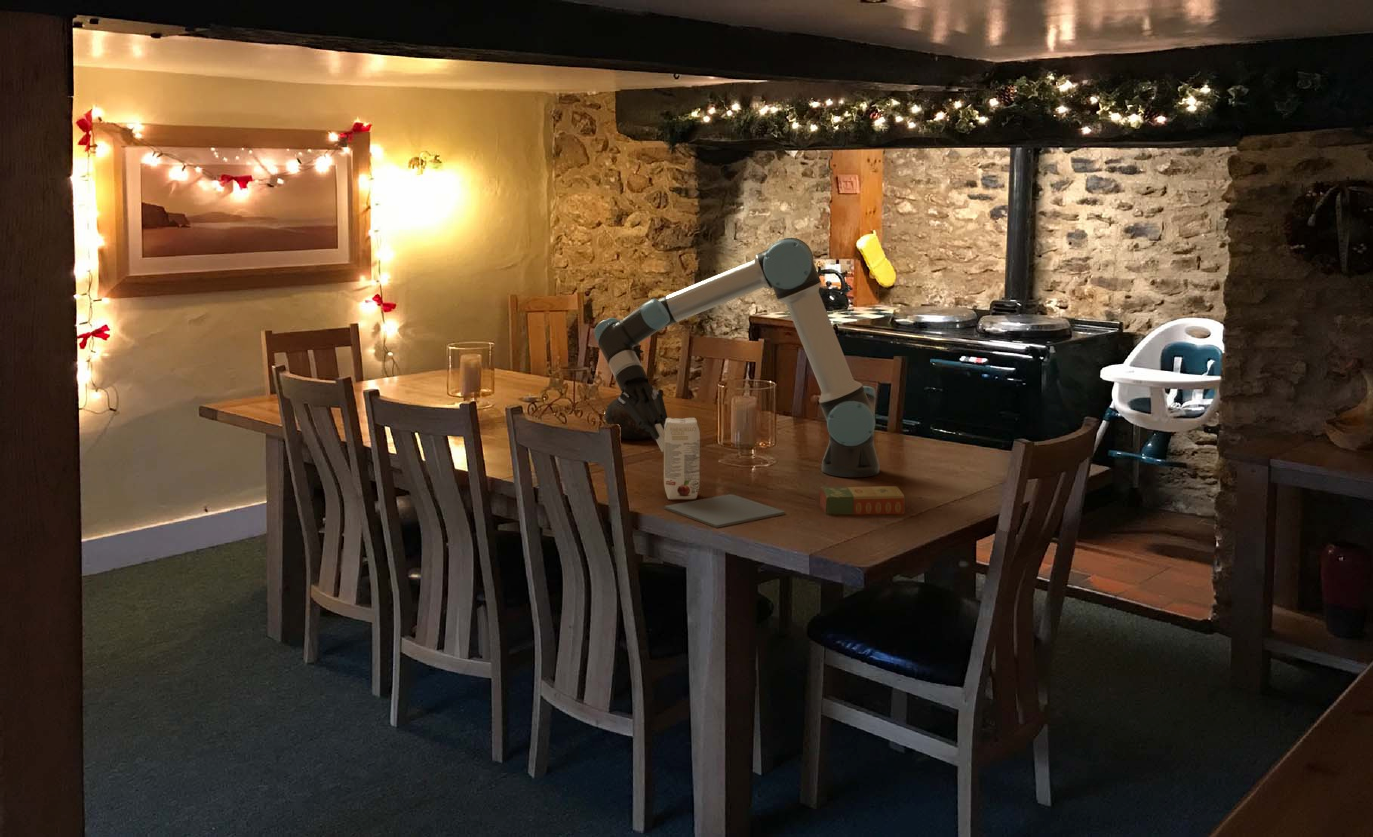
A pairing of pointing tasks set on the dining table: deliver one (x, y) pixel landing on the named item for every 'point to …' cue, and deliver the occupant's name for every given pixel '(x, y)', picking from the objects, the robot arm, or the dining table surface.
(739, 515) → the mat
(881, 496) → the carton
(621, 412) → the glass bottle
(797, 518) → the dining table surface
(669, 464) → the juice carton
